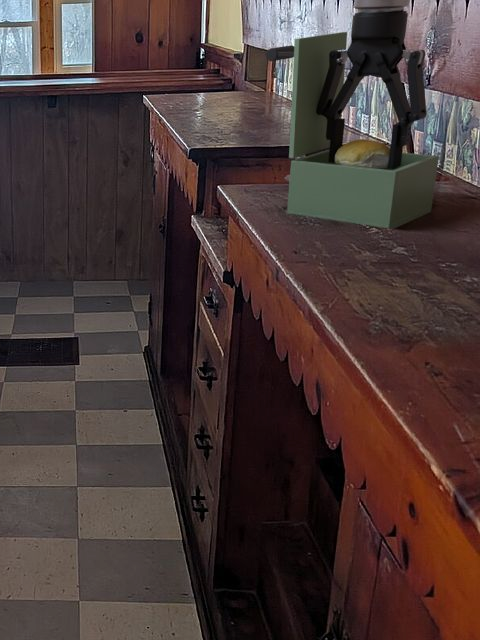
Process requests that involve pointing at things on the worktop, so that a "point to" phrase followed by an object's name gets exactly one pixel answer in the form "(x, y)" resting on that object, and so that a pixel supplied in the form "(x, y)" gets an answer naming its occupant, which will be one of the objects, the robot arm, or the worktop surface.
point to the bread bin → (362, 190)
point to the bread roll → (363, 154)
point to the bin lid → (309, 88)
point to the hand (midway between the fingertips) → (363, 163)
